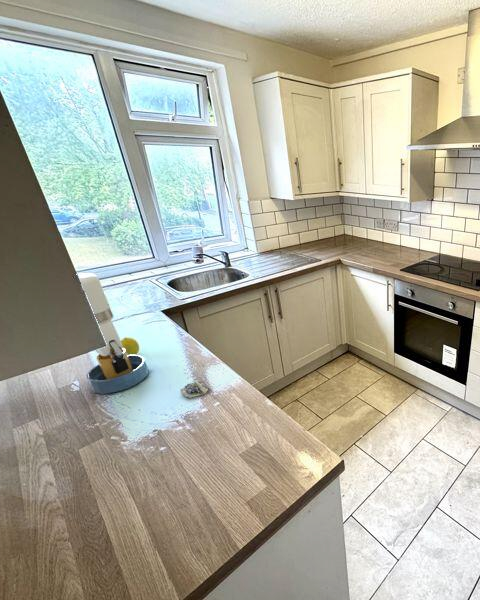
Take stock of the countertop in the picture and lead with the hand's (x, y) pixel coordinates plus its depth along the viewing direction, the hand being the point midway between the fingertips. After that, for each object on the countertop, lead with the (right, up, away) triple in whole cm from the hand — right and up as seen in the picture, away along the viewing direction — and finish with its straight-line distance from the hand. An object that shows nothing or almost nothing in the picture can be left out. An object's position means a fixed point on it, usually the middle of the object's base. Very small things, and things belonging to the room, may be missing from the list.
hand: (116, 367), depth 102 cm
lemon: (-6, 0, +14) cm, 15 cm away
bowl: (0, -5, +2) cm, 5 cm away
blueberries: (+26, -7, -2) cm, 27 cm away
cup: (0, -3, +1) cm, 3 cm away
